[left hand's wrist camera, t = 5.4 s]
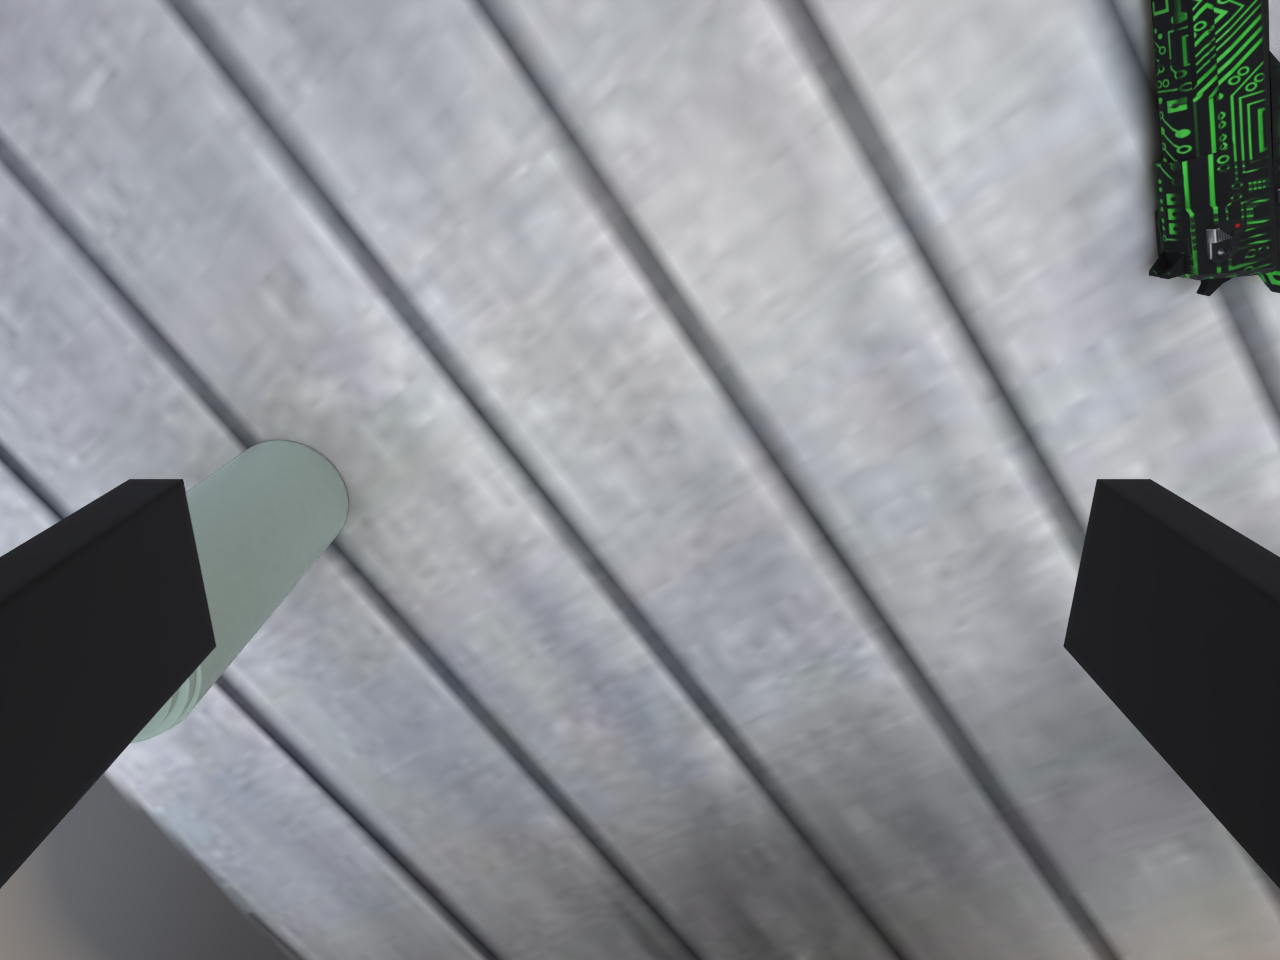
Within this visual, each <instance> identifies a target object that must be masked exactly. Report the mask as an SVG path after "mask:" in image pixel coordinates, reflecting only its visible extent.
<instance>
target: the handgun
mask: <svg viewBox="0 0 1280 960" xmlns="http://www.w3.org/2000/svg"><path fill="white" fill-rule="evenodd" d="M1151 7H1152V21H1153V36H1154V51H1155V65H1156V80H1157V94H1158V106H1159V118H1160V130H1161V142H1162V154H1163V160H1160V161H1157V162H1154V174H1155V184H1156V195H1157V206H1158V208H1157V210H1156V212H1155V219H1156V231H1157V243H1158V255H1159V258H1158V259H1157V261H1156V262H1155V263H1154V265H1153V266H1152V267H1151V269H1150V270H1149V276H1155V277H1159V278H1165V279H1170V278H1174V277H1177V276H1178V277H1184V278H1189V279H1195V280H1201V285H1200V287H1199V289H1198V291H1197V293H1198V294H1201V295H1206V296H1210V295H1211V294H1212V293H1213V292H1214V291H1215V290H1216V289H1217V288H1218V287H1219V286H1220V285H1222V284H1223V283H1224V282H1226V281H1228V280H1230V279H1231V278H1233V277H1239V276H1250V275H1259V276H1260V278H1261V279H1262V280H1263V282H1264V283H1265V284H1266V286H1267V287H1268V288H1269V289H1270V290H1271V291H1272V292H1277V293H1280V62H1279V61H1278V60H1277V59H1276V58H1275V57H1274V55H1273V54H1272V53H1271V52H1270V51H1269V8H1268V0H1151Z"/></svg>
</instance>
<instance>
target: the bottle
mask: <svg viewBox="0 0 1280 960" xmlns="http://www.w3.org/2000/svg"><path fill="white" fill-rule="evenodd" d="M186 497H187V502H188V507H189V512H190V517H191V522H192V527H193V532H194V537H195V542H196V547H197V552H198V557H199V562H200V567H201V572H202V577H203V582H204V587H205V592H206V597H207V602H208V607H209V612H210V617H211V622H212V627H213V632H214V637H215V642H216V647H215V649H214V650H213V651H212V652H211V653H210V654H209V655H208V656H207V657H206V659H205V660H204V661H203V662H202V663H201V664H200V665H199V666H198V668H197V669H196V670H195V671H194V672H193V673H192V674H191V675H190V677H189V678H188V679H187V680H186V681H185V682H184V683H183V684H182V685H181V687H180V688H179V689H178V690H177V691H176V692H175V693H174V694H173V696H172V697H171V698H170V699H169V700H168V701H167V702H166V703H165V705H164V706H163V707H162V708H161V709H160V710H159V711H158V712H157V714H156V715H155V716H154V717H153V718H152V719H151V720H150V721H149V722H148V724H147V725H146V726H145V727H144V728H143V729H142V730H141V731H140V733H139V734H138V735H137V736H136V737H135V738H134V739H133V740H132V742H131V743H134V742H140V741H143V740H147V739H150V738H152V737H155V736H157V735H159V734H161V733H162V732H164V731H166V730H169V729H171V728H172V727H174V726H175V725H177V724H179V723H180V722H181V721H182V720H183V719H184V718H185V717H186V716H187V715H188V714H189V713H190V712H191V710H192V709H193V708H194V707H195V706H196V704H197V703H198V702H199V701H200V700H201V698H202V697H203V696H204V695H205V694H206V692H207V691H208V690H209V689H210V688H211V686H212V685H213V684H214V683H215V682H216V680H217V679H218V678H219V677H220V676H221V674H222V673H223V672H224V671H225V670H226V668H227V667H228V666H229V665H230V664H231V662H232V661H233V660H234V659H235V658H236V656H237V655H238V654H239V653H240V652H241V650H242V649H243V648H244V647H245V646H246V644H247V643H248V642H249V641H250V640H251V638H252V637H253V636H254V635H255V634H256V632H257V631H258V630H259V629H260V628H261V626H262V625H263V624H264V623H265V622H266V620H267V619H268V618H269V617H270V616H271V614H272V613H273V612H274V611H275V610H276V608H277V607H278V606H279V605H280V604H281V602H282V601H283V600H284V599H285V598H286V596H287V595H288V594H289V593H290V591H291V590H292V589H293V588H294V587H295V585H296V584H297V583H298V582H299V581H300V579H301V578H302V577H303V576H304V575H305V573H306V572H307V571H308V570H309V569H310V567H311V566H312V565H313V564H314V563H315V561H316V560H317V559H318V558H319V557H320V555H321V554H322V553H323V552H324V551H325V549H326V548H327V547H328V546H329V545H330V543H331V542H332V541H333V540H334V539H335V537H336V536H337V535H338V534H339V533H340V531H341V529H342V528H343V526H344V524H345V521H346V518H347V514H348V496H347V491H346V488H345V485H344V482H343V480H342V478H341V476H340V475H339V473H338V471H337V470H336V469H335V467H334V466H333V465H332V464H331V463H330V462H329V461H328V460H327V459H326V458H325V457H324V456H322V455H321V454H320V453H318V452H316V451H315V450H313V449H311V448H309V447H307V446H305V445H302V444H299V443H296V442H291V441H283V440H274V441H266V442H262V443H259V444H256V445H254V446H252V447H250V448H248V449H247V450H245V451H244V452H243V453H241V454H240V455H238V456H237V457H235V458H234V459H233V460H231V461H230V462H228V463H227V464H226V465H224V466H223V467H221V468H220V469H218V470H217V471H216V472H214V473H213V474H211V475H210V476H209V477H207V478H206V479H204V480H203V481H201V482H200V483H199V484H197V485H196V486H194V487H193V488H192V489H190V490H189V491H187V492H186Z"/></svg>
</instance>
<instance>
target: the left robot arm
mask: <svg viewBox="0 0 1280 960" xmlns="http://www.w3.org/2000/svg"><path fill="white" fill-rule="evenodd" d="M215 647H216V642H215V637H214V632H213V627H212V622H211V617H210V612H209V607H208V602H207V597H206V592H205V587H204V582H203V577H202V572H201V567H200V562H199V557H198V552H197V547H196V542H195V537H194V532H193V527H192V522H191V517H190V512H189V507H188V502H187V497H186V492H185V487H184V482H183V479H129V480H128V481H126V482H124V483H123V484H121V485H119V486H118V487H116V488H114V489H113V490H111V491H109V492H108V493H106V494H104V495H103V496H101V497H99V498H98V499H96V500H94V501H93V502H91V503H89V504H88V505H86V506H84V507H83V508H81V509H80V510H78V511H76V512H75V513H73V514H71V515H70V516H68V517H66V518H65V519H63V520H61V521H60V522H58V523H56V524H55V525H53V526H51V527H50V528H48V529H46V530H45V531H43V532H41V533H40V534H38V535H36V536H35V537H33V538H31V539H30V540H28V541H26V542H25V543H23V544H21V545H20V546H18V547H16V548H15V549H13V550H11V551H10V552H8V553H6V554H5V555H3V556H2V557H0V888H1V887H2V886H3V885H4V884H5V883H6V882H7V880H8V879H9V878H10V877H11V876H12V875H13V874H14V873H15V872H16V870H17V869H18V868H19V867H20V866H21V865H22V864H23V862H24V861H25V860H26V859H27V858H28V857H29V856H30V855H31V854H32V852H33V851H34V850H35V849H36V848H37V847H38V846H39V845H40V844H41V842H42V841H43V840H44V839H45V838H46V837H47V836H48V835H49V833H50V832H51V831H52V830H53V829H54V828H55V827H56V826H57V824H58V823H59V822H60V821H61V820H62V819H63V818H64V817H65V815H66V814H67V813H68V812H69V811H70V810H71V809H72V808H73V807H74V805H75V804H76V803H77V802H78V801H79V800H80V799H81V798H82V796H83V795H84V794H85V793H86V792H87V791H88V790H89V789H90V787H91V786H92V785H93V784H94V783H95V782H96V781H97V780H98V779H99V777H100V776H101V775H102V774H103V773H104V772H105V771H106V770H107V768H108V767H109V766H110V765H111V764H112V763H113V762H114V761H115V759H116V758H117V757H118V756H119V755H120V754H121V753H122V752H123V750H124V749H125V748H126V747H127V746H128V745H129V744H130V743H131V742H132V740H133V739H134V738H135V737H136V736H137V735H138V734H139V733H140V731H141V730H142V729H143V728H144V727H145V726H146V725H147V724H148V722H149V721H150V720H151V719H152V718H153V717H154V716H155V715H156V714H157V712H158V711H159V710H160V709H161V708H162V707H163V706H164V705H165V703H166V702H167V701H168V700H169V699H170V698H171V697H172V696H173V694H174V693H175V692H176V691H177V690H178V689H179V688H180V687H181V685H182V684H183V683H184V682H185V681H186V680H187V679H188V678H189V677H190V675H191V674H192V673H193V672H194V671H195V670H196V669H197V668H198V666H199V665H200V664H201V663H202V662H203V661H204V660H205V659H206V657H207V656H208V655H209V654H210V653H211V652H212V651H213V650H214V649H215ZM1064 647H1065V649H1066V650H1067V651H1068V652H1069V653H1070V654H1071V655H1072V656H1073V657H1074V659H1075V660H1076V661H1077V662H1078V663H1079V664H1080V665H1081V666H1082V668H1083V669H1084V670H1085V671H1086V672H1087V673H1088V674H1089V675H1090V677H1091V678H1092V679H1093V680H1094V681H1095V682H1096V683H1097V684H1098V685H1099V687H1100V688H1101V689H1102V690H1103V691H1104V692H1105V693H1106V694H1107V696H1108V697H1109V698H1110V699H1111V700H1112V701H1113V702H1114V703H1115V705H1116V706H1117V707H1118V708H1119V709H1120V710H1121V711H1122V712H1123V714H1124V715H1125V716H1126V717H1127V718H1128V719H1129V720H1130V721H1131V722H1132V724H1133V725H1134V726H1135V727H1136V728H1137V729H1138V730H1139V731H1140V733H1141V734H1142V735H1143V736H1144V737H1145V738H1146V739H1147V740H1148V742H1149V743H1150V744H1151V745H1152V746H1153V747H1154V748H1155V749H1156V750H1157V752H1158V753H1159V754H1160V755H1161V756H1162V757H1163V758H1164V759H1165V761H1166V762H1167V763H1168V764H1169V765H1170V766H1171V767H1172V768H1173V770H1174V771H1175V772H1176V773H1177V774H1178V775H1179V776H1180V777H1181V779H1182V780H1183V781H1184V782H1185V783H1186V784H1187V785H1188V786H1189V787H1190V789H1191V790H1192V791H1193V792H1194V793H1195V794H1196V795H1197V796H1198V798H1199V799H1200V800H1201V801H1202V802H1203V803H1204V804H1205V805H1206V807H1207V808H1208V809H1209V810H1210V811H1211V812H1212V813H1213V814H1214V815H1215V817H1216V818H1217V819H1218V820H1219V821H1220V822H1221V823H1222V824H1223V826H1224V827H1225V828H1226V829H1227V830H1228V831H1229V832H1230V833H1231V835H1232V836H1233V837H1234V838H1235V839H1236V840H1237V841H1238V842H1239V844H1240V845H1241V846H1242V847H1243V848H1244V849H1245V850H1246V851H1247V852H1248V854H1249V855H1250V856H1251V857H1252V858H1253V859H1254V860H1255V861H1256V863H1257V864H1258V865H1259V866H1260V867H1261V868H1262V869H1263V870H1264V872H1265V873H1266V874H1267V875H1268V876H1269V877H1270V878H1271V879H1272V880H1273V882H1274V883H1275V884H1276V885H1277V886H1278V887H1279V888H1280V557H1278V556H1277V555H1275V554H1273V553H1272V552H1270V551H1269V550H1267V549H1265V548H1264V547H1262V546H1260V545H1259V544H1257V543H1255V542H1254V541H1252V540H1250V539H1249V538H1247V537H1245V536H1244V535H1242V534H1240V533H1239V532H1237V531H1235V530H1234V529H1232V528H1230V527H1229V526H1227V525H1225V524H1224V523H1222V522H1220V521H1219V520H1217V519H1215V518H1214V517H1212V516H1210V515H1209V514H1207V513H1205V512H1204V511H1202V510H1200V509H1199V508H1197V507H1196V506H1194V505H1192V504H1191V503H1189V502H1187V501H1186V500H1184V499H1182V498H1181V497H1179V496H1177V495H1176V494H1174V493H1172V492H1171V491H1169V490H1167V489H1166V488H1164V487H1162V486H1161V485H1159V484H1157V483H1156V482H1154V481H1152V480H1151V479H1097V482H1096V487H1095V492H1094V497H1093V502H1092V507H1091V512H1090V517H1089V522H1088V527H1087V532H1086V537H1085V542H1084V547H1083V552H1082V557H1081V562H1080V567H1079V572H1078V577H1077V582H1076V587H1075V592H1074V597H1073V602H1072V607H1071V612H1070V617H1069V622H1068V627H1067V632H1066V637H1065V642H1064Z"/></svg>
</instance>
